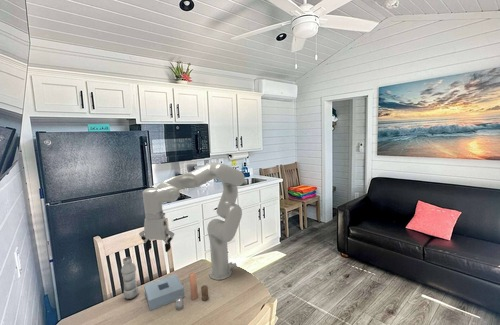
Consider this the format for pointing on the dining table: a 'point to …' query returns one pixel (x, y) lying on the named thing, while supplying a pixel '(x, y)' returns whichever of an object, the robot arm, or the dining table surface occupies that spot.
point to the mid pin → (204, 293)
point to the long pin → (193, 286)
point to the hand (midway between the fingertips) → (158, 250)
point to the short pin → (179, 303)
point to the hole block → (163, 291)
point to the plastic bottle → (129, 278)
